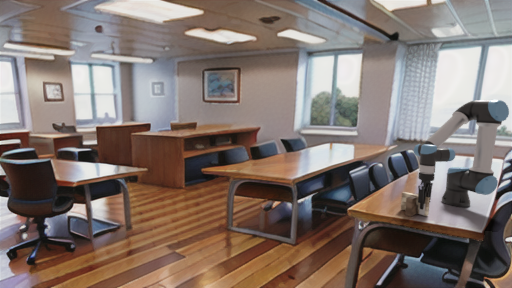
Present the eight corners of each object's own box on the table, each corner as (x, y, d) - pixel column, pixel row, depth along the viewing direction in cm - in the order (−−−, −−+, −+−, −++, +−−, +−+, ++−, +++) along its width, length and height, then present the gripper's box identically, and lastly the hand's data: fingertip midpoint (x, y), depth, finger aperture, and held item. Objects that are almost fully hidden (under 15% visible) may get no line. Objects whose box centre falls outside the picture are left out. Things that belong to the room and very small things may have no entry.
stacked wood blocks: (400, 209, 176) (401, 192, 175) (403, 208, 178) (404, 191, 177) (426, 216, 165) (427, 198, 164) (428, 214, 167) (429, 197, 166)
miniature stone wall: (417, 209, 178) (419, 192, 176) (423, 210, 175) (424, 194, 174) (405, 215, 168) (406, 197, 166) (410, 216, 165) (412, 199, 164)
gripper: (425, 169, 173) (422, 209, 176) (413, 173, 163) (409, 215, 166) (439, 172, 167) (436, 212, 170) (427, 175, 157) (424, 219, 160)
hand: (423, 213), depth 168 cm, fingers closed on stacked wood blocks, 3 cm apart
